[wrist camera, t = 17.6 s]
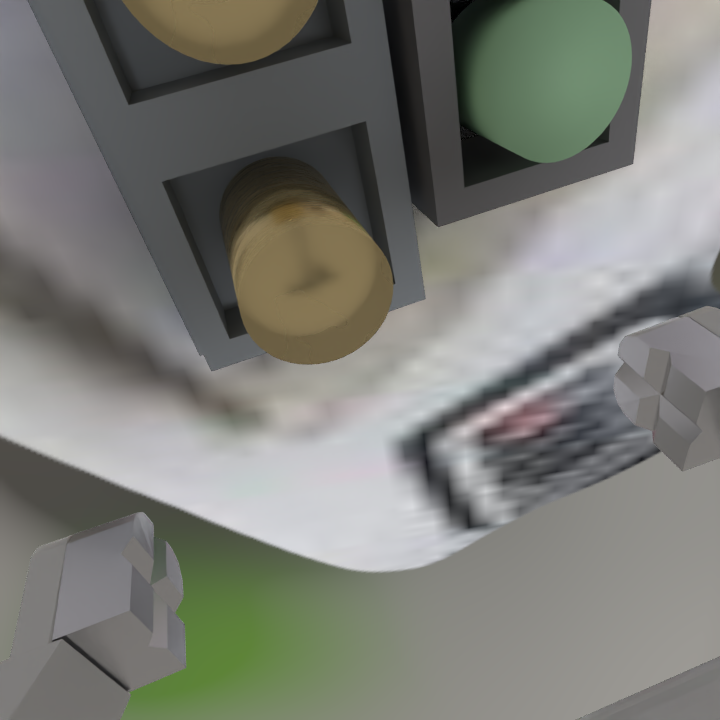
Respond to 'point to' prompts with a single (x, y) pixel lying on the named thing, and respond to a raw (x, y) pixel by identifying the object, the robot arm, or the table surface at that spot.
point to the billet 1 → (223, 26)
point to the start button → (540, 73)
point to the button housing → (477, 154)
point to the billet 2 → (301, 263)
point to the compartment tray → (238, 141)
